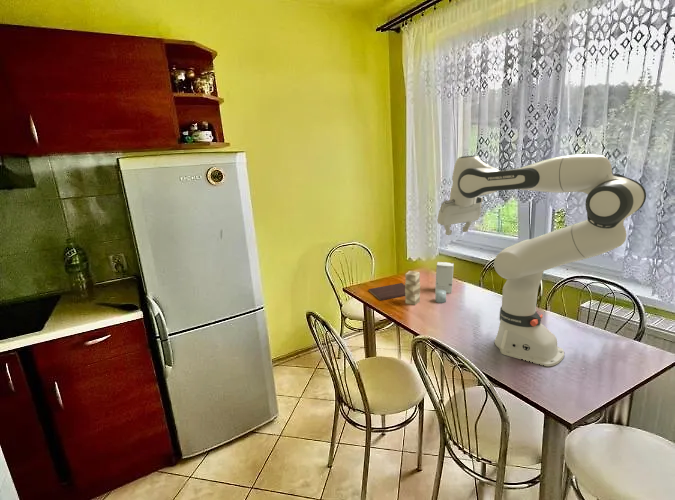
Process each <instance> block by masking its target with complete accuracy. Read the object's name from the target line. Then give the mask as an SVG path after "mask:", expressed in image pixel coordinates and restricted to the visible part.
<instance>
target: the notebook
mask: <svg viewBox="0 0 675 500" xmlns="http://www.w3.org/2000/svg"><path fill="white" fill-rule="evenodd" d="M368 292H370V293H371V294H372V295H373V296H374V297H375V298H377V300H379V301H380V302H381V301H388V300H392V299H398V298H403V297H405V283H403V282H401V283H393V284H389V285H383V286H378V287H374V288H373V287H372V288H368Z"/></svg>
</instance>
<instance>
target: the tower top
mask: <svg viewBox="0 0 675 500" xmlns="http://www.w3.org/2000/svg"><path fill="white" fill-rule="evenodd" d="M420 276H421V275H420V272H419V271H414V270H413V271H412V270H408V272H406V273H405V283H406V284H409V285H415V286H416V285H417V284H418V283H421V282H420Z"/></svg>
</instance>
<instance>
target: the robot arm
mask: <svg viewBox="0 0 675 500" xmlns="http://www.w3.org/2000/svg"><path fill="white" fill-rule="evenodd" d="M612 170H613V168H612V164H611V161H610V160H609V159H608V157H606V156H604V155H602V154H570V155H562V156H556V157H552V158H546V159H544V160H541V161H537V162H534V163H531V164H528V165H525V166H522V167H520V168H519V167H517V168H514V169H507V170H500V169H499V168H497V167H494V166H491V165H490V164H488V163H486V162H484V161H483V160H481V158H480V157H479V156H478V155H465V156H459V157H458V158H457V160H456V161H455V163H454V168H453V172H452V177H451V178H452V179H451V180H452V184H451V185H452V186H451V188H450V195H449V200H444V201H443V202H442V203H441V205H440V208H439V211H438V216H437V223H438V224H439V225H442V226H443V227H444V229H445V235H446V236H451V235H452V234H453V233H452V230H451V226H452V225H455V224H456V225H457V224H462V223H465V224H464V226H463V227H462V230H461V231H462V232H463V233H468V232H469V228H470V227H471V225H472V223H473V222H474V221H478V220H479V219H480V217H481V213H482V203H483V200H484V198H483V197H482V196H486V195H490V194H494V193H496V192H498V191H510V190H511V191H512V190H517V191H518V190H520V191H533V192H543V193H555V194H556V193H558V194H559V193H560V194H561V193H564V194H565V193H576V192H577V193H584V194H587V196H586V198H585V203H584V204H585V210H586V217H587V218H586V220H582V221H580V222H577V223H574V224H573V223H572V224H571V225H568V226H565V227H562V228H559V229H555V230H553V231H550V232H547V233H544V234H542V235H538V236H535V237H533V238H529V239H524V240H522V241H519V242H516V243H515V244H514V243H513V244H512V245H510V246H508V247H506V248H503V249H502V250H501V251H500V252H499V253H498V254H497V255H496V256H495V258H494V261H493V267H494V270H495V272H496V273H497V274H498V276H500V277H501V278H503V279H504V280H506V281H505V283H504V284H503V287H502V294H501V295H502V296H501V297H502V299H501V306H500V309H499V327H498V330H497V333H496V334H497V335H496V337H495V339H494V344H495V346H496V347H497V348H498V349H499V351H500V354H501V355H504V356H507V357H509V358H510V357H511V358H514V359H518V360H521V359H523V360H522V361H525V360H526V361H525V362H529V361H530V362H529V363H532V362H533V364H535V365H539V364H540V366H543V365H544V367H554V366H556V365H558V364H560V363H561V362H562V360H563V359H564V357H565V351H564V349H563V348H562V347H560V346H558V340H557V336H556V335H555V334H554V333H553V332H552V331H550V330H549V328H547V327H546V326H545V325H544V324H543V323H542V318H543V314H542V313H541V314H540V315H539V313H538V312H537V301H538V292H539V288H540V285H541V282H542V279H543V276H544V272H545V271H548V270H551V269H554V268H557V267H560V266H563V265H566V264H570V263H575V262H579V261H582V260H586V259H589V258H594V257H597V256H600V255H602V254H605V253H608V252H611V251H613V250H615V249H617V248H620V246H622V245H624V244H625V242H626V239H627V230H626V227H625V226H624V224H625V223H624V222H625V220H626V219H627V218H628V217H630V216H632V215H633V214H635V213H637V211H639V210H640V209H641V208H642V207H643V206H644V204H645V202H646V199H647V191H646V189H645V187H644V185H642V184H641V183H640V182H639V181H637V180H635V179H633V178H631V177H630V178H629V177H627V176H624V175H623V174H620V173H614V174H613V171H612Z"/></svg>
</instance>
